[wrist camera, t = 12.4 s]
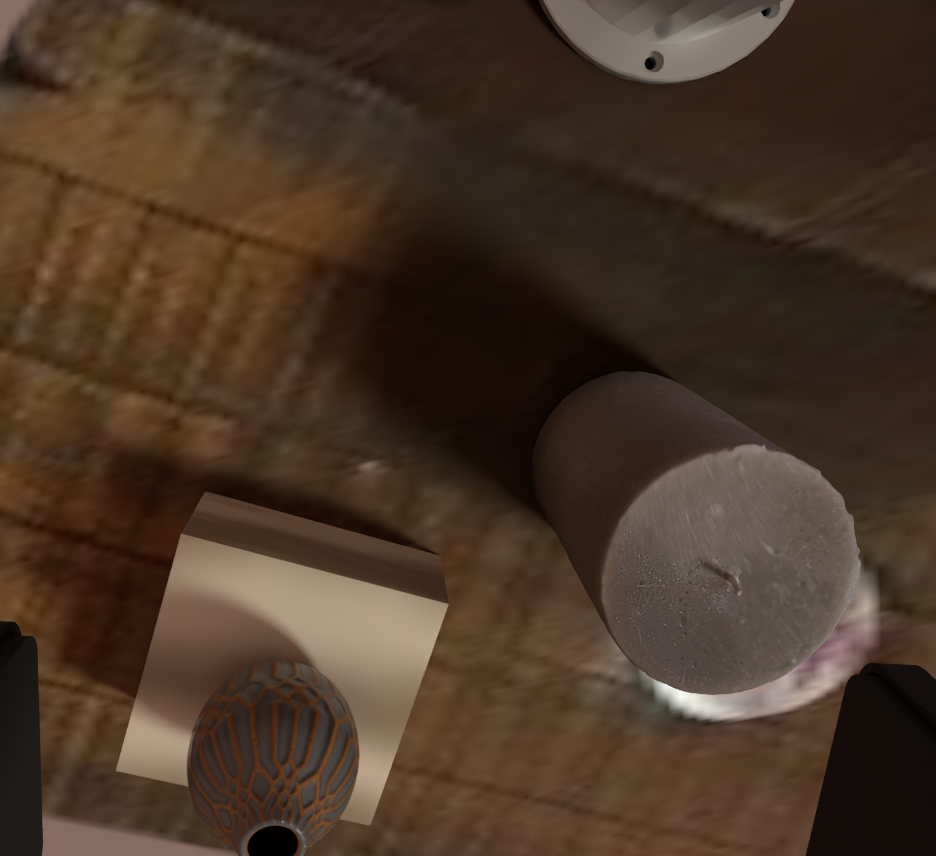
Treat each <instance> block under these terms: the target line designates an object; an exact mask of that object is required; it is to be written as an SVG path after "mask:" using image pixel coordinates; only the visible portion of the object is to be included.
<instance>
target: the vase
mask: <svg viewBox="0 0 936 856" xmlns="http://www.w3.org/2000/svg"><path fill="white" fill-rule="evenodd" d="M359 756H360V753H359V739H358V733H357V728H356V724H355V720H354V716H353V714H352V711H351V709H350V707H349V705H348V703H347V701H346V699H345V698H344V696H343V695H342V693H341V692H340V691H339V689H338V688H337V687H336V686H335V684H334V683H333V682H332V681H331V680H329V679H328V678H327V677H326V676H324V675H323V674H322V673H320V672H319V671H317V670H316V669H314V668H312V667H310V666H307V665H304V664H301V663H297V662H292V661H283V660H277V661H266V662H261V663H257V664H254V665H251V666H248V667H246V668H244V669H242V670H240V671H238V672H236V673H235V674H233V675H232V676H231V677H229V678H228V679H227V680H226V681H224V682H223V683H222V684H221V685H220V686H219V687H218V688H217V689H216V690H215V691H214V693H213V694H212V695H211V696H210V698H209V699H208V700H207V702H206V703H205V705H204V707H203V708H202V710H201V712H200V714H199V716H198V718H197V720H196V722H195V725H194V728H193V731H192V734H191V739H190V743H189V748H188V755H187V780H188V786H189V791H190V795H191V799H192V802H193V805H194V808H195V810H196V812H197V814H198V816H199V818H200V820H201V822H202V823H203V825H204V826H205V828H206V829H207V830H208V832H209V833H210V834H211V835H212V836H213V837H214V838H215V839H216V840H217V841H219V842H220V843H221V844H223V845H224V846H225V847H227V848H228V849H230V850H232V851H234V852H235V853H237V854H238V855H239V856H303V855H304V854H305V852H306V850H307V849H308V848H309V847H310V846H312V845H313V844H315V843H316V842H317V841H319V840H320V839H321V838H322V837H323V836H325V835H326V834H327V833H328V832H329V831H330V830H331V829H332V827H333V826H334V825H335V824H336V823H337V821H338V820H339V819H340V817H341V815H342V814H343V812H344V810H345V809H346V807H347V805H348V802H349V800H350V798H351V795H352V792H353V789H354V786H355V783H356V778H357V774H358V768H359Z"/></svg>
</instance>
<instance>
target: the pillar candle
mask: <svg viewBox="0 0 936 856" xmlns="http://www.w3.org/2000/svg"><path fill="white" fill-rule="evenodd" d="M532 480H533V484H534V485H535V487H534V490H535V495H536V498H537V501H538V503H539V505H540V507H541V509H542V511H543V513H544V515H545V516H546V518H547V519H548V521H549V523H551V525H552V527H553V529H554V531H555V532H556V534H557V537H558V538H559V540H560V542H561V544H562V545H563V547H564V549H565V551H566V553H567V555H568V557H569V560H570V562H571V564H572V566H573V568H574V569H575V571H576V573H577V574H578V576H579V578H580V580H581V582H582V584H583V586H584V588H585V590H586V591H587V593H588V595H589V597H590V598H591V600H592V602H593V604H594V606H595V608H596V610H597V612H598V614H599V615H600V617H601V619H602V620H603V622H604V624H605V626H606V628H607V630H608V631H609V633H610V635H611V636H612V638H613V639H614V641H615V643H616V644H617V645H618V647H619V648H620V649H621V651H622V652H623V653H624V654H625V656H626V657H627V658H628V659H629V660H630V661H631V662H632V663H633V664H634V665H636V666H637V667H638V668H639V669H641V670H642V671H644V672H645V673H646V674H647V675H648V676H650V677H651V678H653V679H655V680H657V681H659V682H662V683H664V684H667V685H669V686H671V687H673V688H676V689H678V690H682V691H685V692H690V693H697V694H710V695H717V694H733V693H737V692H742V691H745V690H749V689H753V688H756V687H759V686H762V685H764V684H766V683H769V682H771V681H774V680H776V679H778V678H780V677H782V676H784V675H786V674H787V673H788V672H789V671H791V670H793V669H794V668H795V667H797V666H798V665H799V664H800V663H802V662H803V661H805V660H806V659H808V657H809V656H810V655H811V654H813V653H814V651H815V650H816V649H818V648H819V646H820V645H822V644H823V643H824V641H825V640H826V639H827V638H828V636H829V635H830V634H831V633H832V631H833V630H834V628H835V626H836V624H837V623H838V622H839V620H840V618H841V616H842V614H843V613H844V611H845V609H846V607H847V606H849V605H850V603H851V602H852V601H853V598H854V596H855V590H856V589H855V587H854V585H855V583H856V582H857V580H858V577H859V570H860V566H861V565H860V560H859V559H858V554H859V551H860V549H859V548H858V547H857V545H856V538H855V533H854V526H853V525H854V520H853V515H852V514H849V513H848V512H847V511H846V508H845V502H844V499H843V498H842V496H841V494H840V493H839V492H837V491H836V490H835V489H834V488H833V487H832V485H831V484H830V483H829V482H828V481H827V480H826V479H825V478H824V477H823V476H822V475H821V472H820V471H819V470H817V469H815V468H813V467H811V466H810V465H808V464H807V463H805V462H804V461H802V460H799V459H798V458H796V457H795V456H793V455H791V454H790V453H788V452H786V451H785V450H783V449H781V448H780V447H778V446H776V445H775V444H773V443H772V442H770V441H769V440H767V439H765V438H764V437H762V436H761V435H759V434H758V433H756V432H755V431H753V430H751V429H750V428H748V427H747V426H745V425H744V424H742V423H741V422H739V421H738V420H736V419H734V418H733V417H731V416H730V415H728V414H727V413H725V412H724V411H722V410H721V409H720V408H717V407H716V406H714V405H712V404H711V403H709V402H708V401H706V400H705V399H703V398H702V397H700V396H699V395H697V394H696V393H694V392H692V391H691V390H689V389H687V388H686V387H684V386H683V385H681V384H679V383H678V382H676V381H673V380H671V379H668V378H666V377H663V376H659V375H655V374H651V373H647V372H644V371H637V372H627V371H621V372H616V373H612V374H608V375H605V376H601V377H599V378H596V379H594V380H592V381H589V382H587V383H586V384H584V385H583V386H580V387H579V388H578V389H576V390H574V391H573V392H572V393H571V394H569V395H568V396H566V397H565V398H564V399H563V400H562V401H561V403H560V404H558V406H557V407H556V408H555V409H554V410H553V411H552V413H551V414H550V416H549V417H548V419H547V420H546V422H545V423H544V425H543V427H542V429H541V430H540V433H539V435H538V437H537V441H536V444H535V447H534V450H533V461H532Z"/></svg>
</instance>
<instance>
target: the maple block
mask: <svg viewBox="0 0 936 856" xmlns="http://www.w3.org/2000/svg"><path fill="white" fill-rule="evenodd" d="M448 605H449V603H448V597H447V591H446V585H445V579H444V573H443V567H442V561H441V556H439V555H436V554H432V553H429V552H425V551H421V550H418V549H414V548H410V547H407V546H403V545H399V544H396V543H392V542H388V541H385V540H381V539H378V538H374V537H370V536H367V535H363V534H359V533H356V532H352V531H348V530H345V529H341V528H337V527H334V526H330V525H327V524H323V523H319V522H316V521H312V520H308V519H305V518H301V517H297V516H294V515H290V514H286V513H283V512H279V511H276V510H272V509H268V508H265V507H261V506H257V505H254V504H250V503H246V502H243V501H239V500H236V499H232V498H228V497H225V496H221V495H217V494H214V493H210V492H206V491H205V492H204V494H203V496H202V498H201V499H200V501H199V503H198V505H197V506H196V508H195V510H194V512H193V514H192V515H191V517H190V519H189V521H188V522H187V524H186V526H185V528H184V529H183V531H182V533H181V536H180V539H179V543H178V546H177V550H176V554H175V557H174V561H173V565H172V568H171V572H170V576H169V579H168V583H167V587H166V590H165V594H164V597H163V601H162V605H161V608H160V612H159V616H158V619H157V623H156V627H155V630H154V634H153V638H152V641H151V645H150V648H149V652H148V656H147V659H146V663H145V667H144V670H143V674H142V678H141V681H140V685H139V689H138V692H137V696H136V699H135V703H134V707H133V710H132V714H131V718H130V721H129V725H128V729H127V732H126V736H125V740H124V743H123V747H122V750H121V754H120V758H119V761H118V765H117V769H116V771H119V772H124V773H128V774H133V775H138V776H142V777H147V778H152V779H156V780H161V781H166V782H170V783H175V784H179V785H184V786H188V780H187V755H188V748H189V743H190V739H191V734H192V731H193V728H194V725H195V722H196V720H197V718H198V716H199V714H200V712H201V710H202V708H203V707H204V705H205V703H206V702H207V700H208V699H209V698H210V696H211V695H212V694H213V693H214V691H215V690H216V689H217V688H218V687H219V686H220V685H221V684H222V683H223V682H224V681H226V680H227V679H228V678H229V677H231V676H232V675H233V674H235V673H236V672H238V671H240V670H242V669H244V668H246V667H248V666H251V665H254V664H257V663H261V662H266V661H277V660H283V661H292V662H297V663H301V664H304V665H307V666H310V667H312V668H314V669H316V670H317V671H319V672H320V673H322V674H323V675H324V676H326V677H327V678H328V679H329V680H331V681H332V682H333V683H334V684H335V686H336V687H337V688H338V689H339V691H340V692H341V693H342V695H343V696H344V698H345V699H346V701H347V703H348V705H349V707H350V709H351V711H352V714H353V716H354V720H355V724H356V728H357V733H358V739H359V753H360V756H359V768H358V774H357V778H356V783H355V786H354V789H353V792H352V795H351V798H350V800H349V802H348V805H347V807H346V809H345V810H344V812H343V814H342V815H341V817H340V819H342V820H347V821H351V822H356V823H360V824H365V825H371V822H372V819H373V816H374V814H375V811H376V808H377V805H378V802H379V799H380V797H381V794H382V791H383V788H384V785H385V782H386V780H387V777H388V774H389V771H390V768H391V766H392V763H393V760H394V757H395V754H396V751H397V749H398V746H399V743H400V740H401V737H402V734H403V732H404V729H405V726H406V723H407V720H408V718H409V715H410V712H411V709H412V706H413V703H414V701H415V698H416V695H417V692H418V689H419V686H420V684H421V681H422V678H423V675H424V672H425V669H426V667H427V664H428V661H429V658H430V655H431V653H432V650H433V647H434V644H435V641H436V638H437V636H438V633H439V630H440V627H441V624H442V621H443V619H444V616H445V613H446V610H447V607H448Z"/></svg>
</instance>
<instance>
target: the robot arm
mask: <svg viewBox="0 0 936 856" xmlns="http://www.w3.org/2000/svg"><path fill="white" fill-rule="evenodd" d="M793 2H794V0H539V3H540V5H541V7H542V9H543V12H544V13H545V14H546V16H547V17H548V19H549V20H550V22H551V23H552V25H553V26H554V28H555V29H556V31H557V32H558V34H559V35H560V36H561V37H562V38H563V39H564V40H565V41H566V42H567V43H568V44H569V45H570V46H571V47H572V48H573V49H574V50H575V51H576V52H577V53H578V54H579V55H580V56H582V57H583V58H585V59H586V60H588V61H589V62H591V63H592V64H594V65H595V66H597V67H598V68H600V69H601V70H604V71H606V72H608V73H611V74H613V75H616V76H618V77H621V78H623V79H626V80H631V81H637V82H642V83H648V84H673V83H682V82H686V81H690V80H694V79H698V78H702V77H705V76H708V75H710V74H713V73H715V72H718V71H721V70H723V69H725V68H727V67H728V66H730V65H732V64H734V63H735V62H737V61H739V60H740V59H742V58H744V57H745V56H747V55H748V54H749V53H751V52H752V51H753V50H754V49H755V48H756V47H757V46H759V45H760V44H761V43H762V42H763V41H764V40H765V39H767V38H768V37H769V36H770V34H771V33H772V32H773V31H774V30H775V29H776V27H777V26H778V25H779V24H780V23H781V21H782V20H783V19H784V17H785V16H786V15H787V13H788V11H789V9H790V8H791V6H792V4H793ZM765 9H767V13H766V16H765V17H764V16H763V15H762V13H761V11H763V10H765ZM647 58H649V59H651V60H652V61H653V65H654V66H653V68H652V69H651V70H648V69H646V67H645V64H644V62H645V60H646V59H647ZM42 830H43V829H42V794H41V758H40V723H39V688H38V652H37V643H36V641H35V638H34V637H33V636H21V631H20V629H19V626H18V625H17V624H16V623H15V622H5V621H0V856H42V848H43V831H42ZM806 856H936V680H935V679H934V678H933V677H932V676H931V675H930V674H929V673H928V672H927V671H926V670H924V669H923V668H921V667H920V666H917V665H902V664H881V663H869V664H867V665H865V666H864V667H863V669H862V670H861V671H860V673H859V675H857V674H855V675H853V676H851V677H850V679H849V680H848V682H847V685H846V688H845V692H844V696H843V700H842V704H841V709H840V713H839V717H838V721H837V726H836V730H835V734H834V738H833V743H832V747H831V751H830V755H829V760H828V764H827V768H826V772H825V776H824V781H823V785H822V789H821V793H820V798H819V802H818V806H817V810H816V815H815V819H814V823H813V827H812V831H811V836H810V840H809V844H808V848H807V853H806Z"/></svg>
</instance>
